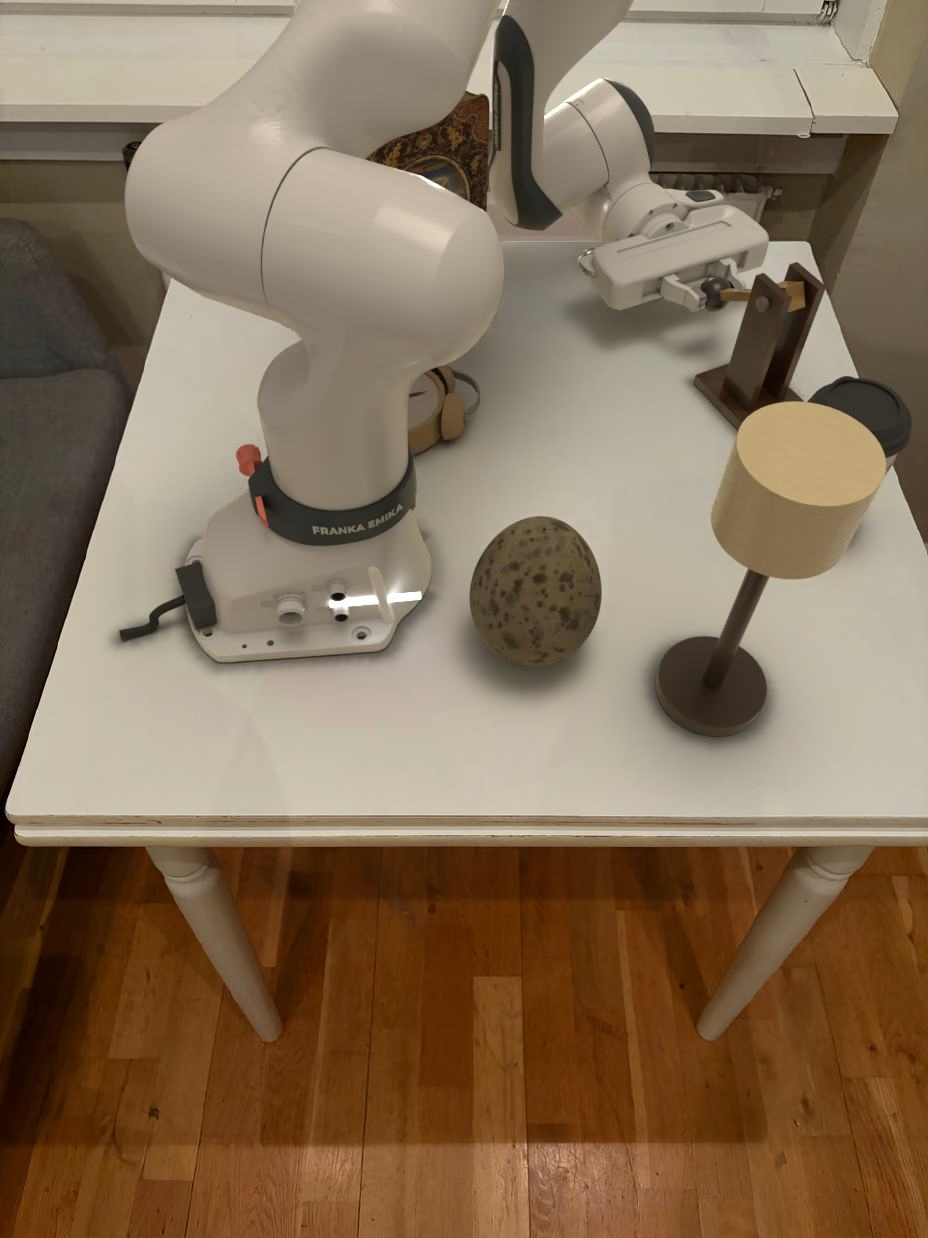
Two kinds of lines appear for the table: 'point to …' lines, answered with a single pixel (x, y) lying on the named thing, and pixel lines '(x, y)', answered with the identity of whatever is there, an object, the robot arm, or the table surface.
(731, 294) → the lever
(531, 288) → the table surface
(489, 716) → the table surface
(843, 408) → the coffee cup
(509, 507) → the table surface
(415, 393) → the alarm clock
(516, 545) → the decorative egg
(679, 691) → the lamp
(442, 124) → the book
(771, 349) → the switch block
